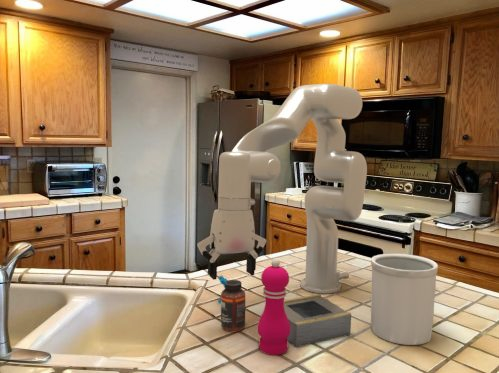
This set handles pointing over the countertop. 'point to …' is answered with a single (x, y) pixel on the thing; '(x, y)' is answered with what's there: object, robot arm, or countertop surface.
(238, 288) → the supplement bottle
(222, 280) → the cyan jagged piece
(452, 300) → the countertop surface
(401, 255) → the utensil holder
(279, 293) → the pepper mill
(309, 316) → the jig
